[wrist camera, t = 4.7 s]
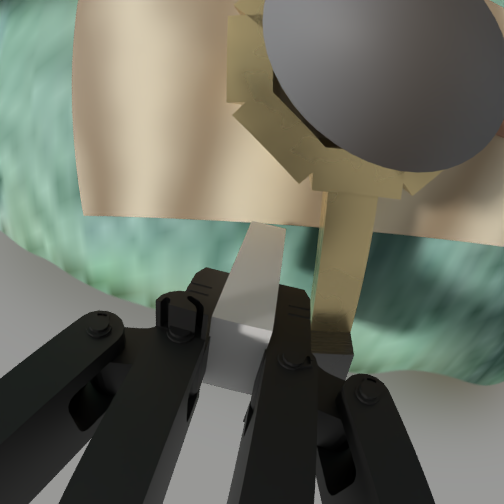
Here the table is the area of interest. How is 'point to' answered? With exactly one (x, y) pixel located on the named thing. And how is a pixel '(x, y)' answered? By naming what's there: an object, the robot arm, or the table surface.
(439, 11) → the base
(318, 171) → the collar
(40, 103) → the table surface
